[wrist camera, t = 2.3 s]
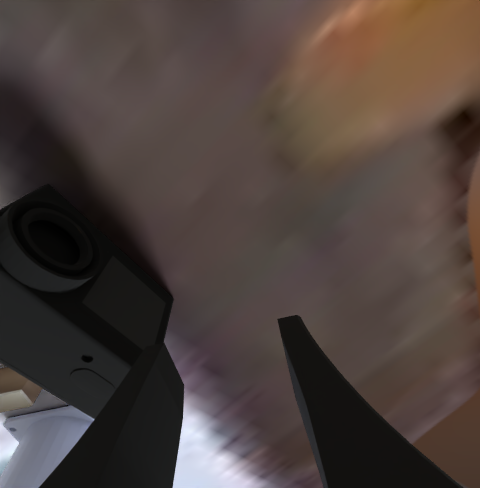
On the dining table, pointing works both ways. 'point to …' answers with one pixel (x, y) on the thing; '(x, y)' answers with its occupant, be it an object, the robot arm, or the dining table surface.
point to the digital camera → (72, 302)
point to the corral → (16, 390)
